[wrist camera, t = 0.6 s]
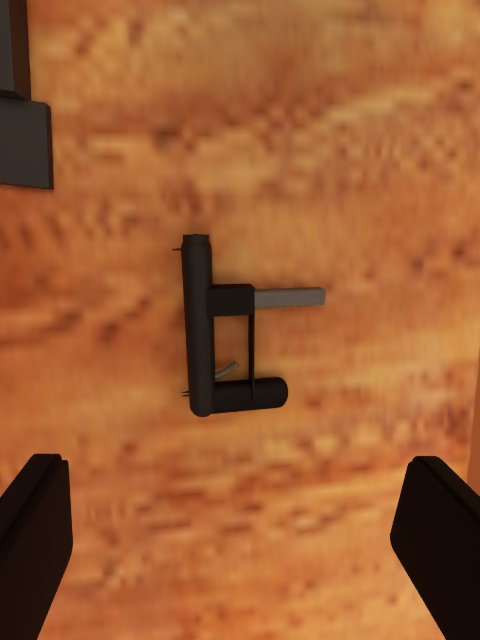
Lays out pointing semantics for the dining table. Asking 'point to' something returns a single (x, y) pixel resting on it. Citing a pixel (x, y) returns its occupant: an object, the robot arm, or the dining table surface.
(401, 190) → the dining table surface
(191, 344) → the submachine gun
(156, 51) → the dining table surface
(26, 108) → the spatula
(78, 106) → the dining table surface
